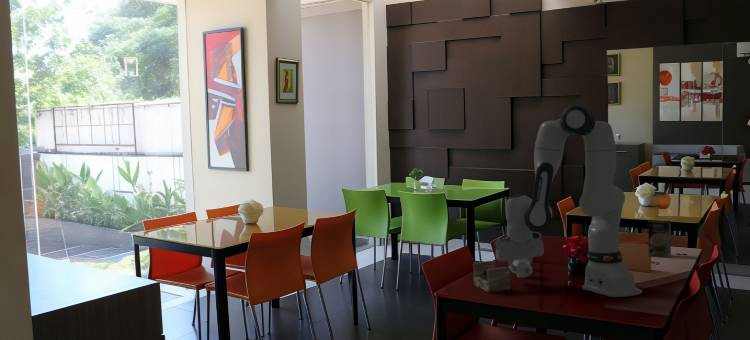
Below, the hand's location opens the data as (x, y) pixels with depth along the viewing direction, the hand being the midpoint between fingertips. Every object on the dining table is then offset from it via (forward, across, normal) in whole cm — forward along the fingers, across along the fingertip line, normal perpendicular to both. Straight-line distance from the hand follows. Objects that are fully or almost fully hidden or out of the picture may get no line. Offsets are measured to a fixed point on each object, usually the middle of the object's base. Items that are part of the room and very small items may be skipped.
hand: (521, 269), depth 262 cm
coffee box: (+8, +82, +18) cm, 84 cm away
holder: (+6, -12, +2) cm, 14 cm away
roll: (0, 0, 0) cm, 1 cm away
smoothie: (+6, +7, +12) cm, 15 cm away
